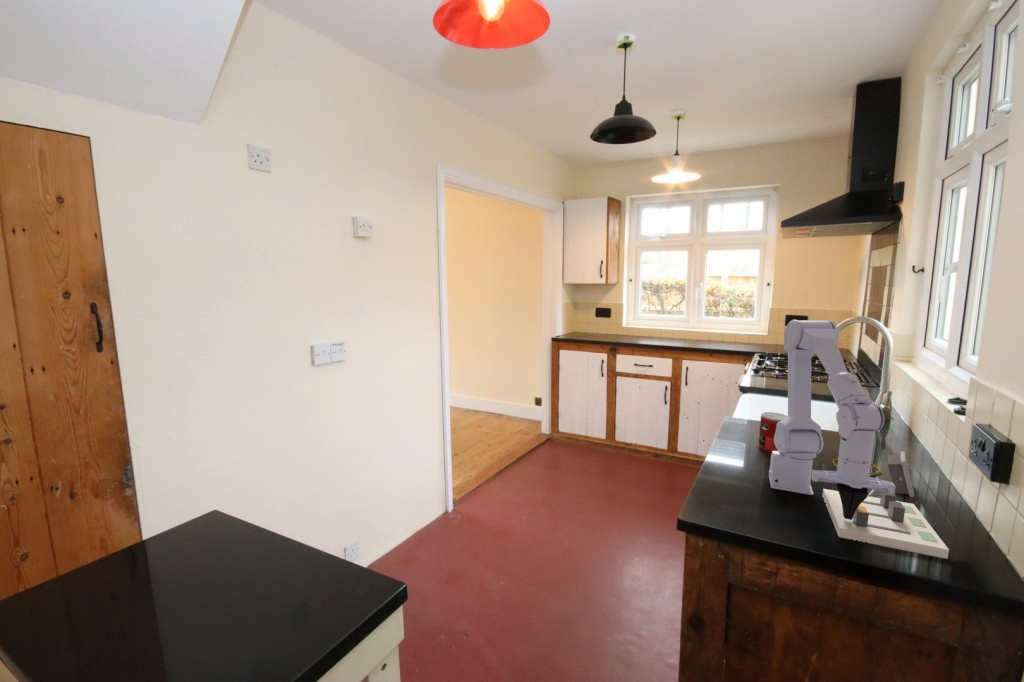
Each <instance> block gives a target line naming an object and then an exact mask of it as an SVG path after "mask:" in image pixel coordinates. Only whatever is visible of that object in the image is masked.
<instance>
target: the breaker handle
mask: <svg viewBox="0 0 1024 682" xmlns="http://www.w3.org/2000/svg"><path fill="white" fill-rule="evenodd" d="M868 517H869V513H868V511H867V510H866V508H865V507H864V506H859V507H858V508H857V510H856V511H855V513H854V515H853V520H854V522H855V524H856V525H859V526H864V527H867V524H868Z"/></svg>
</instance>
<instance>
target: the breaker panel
mask: <svg viewBox="0 0 1024 682" xmlns="http://www.w3.org/2000/svg"><path fill="white" fill-rule="evenodd" d="M880 493H881V494H880V497H875V496H869V495H868V496H867V498H866V499H865V500H864V501H863V502H862V503H861V504H860V505H859V506H864V507H865V508H866V510H867V511H868V513H869V517H868V524H867V527H864V526H859V525H856V524H855V522H854V520H853V518H852V520H850V519H845V518H844V516H843V508H842V502H841V498H840V495H839V492H838V490H834V489H827V488H823V489H822V498H824V499H823V501H824V503H826V504H825V506H826V508H827V511H828V513H829V517H830V518H831V521H832V523H833V525H834V529H835V532H836V533H837V536H838V538H842V539H848V540H851V539H852V541H856V540H857V542H861V541H862V542H861V543H866V542H867V544H870V545H871V544H872V545H875V546H877V545H878V546H881V547H887V548H892V549H896V550H902V551H906V552H911V553H916V554H920V555H921V554H922V555H926V556H932V557H937V558H940V559H946V560H949V559H948V558H949V554H950V553H949V552H950V549H949V548H948V546H947V545H946V543H945V542H944V541H943V540H942V538H940V536H939V535H938V533H937V532H936V531H935V530H934V528H933V527H932V526H931V525H930V523H929V522H928V520H927V519H926V518H925V517H924V516H923V514H922V513H921V511H920V510H919V508H917V507H916V505H915V503H909V502H905V501H898V500H897V494H896V493H894V494H889V493H887V492H883V491H880Z"/></svg>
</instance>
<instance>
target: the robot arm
mask: <svg viewBox="0 0 1024 682" xmlns="http://www.w3.org/2000/svg"><path fill="white" fill-rule="evenodd" d="M839 335H840V331H839V329H838V327H837V325H836V323H835V322H834V321H833V320H831V319H826V320H804V319H803V320H799V319H792V320H790V321H789V322H788V323H787V325H786V326H785V328H784V331H783V343H784V344H783V349H784V352H785V353H787V415H786V416H787V417H786V418H784V419H783V420H781V421H779V422H778V423H777V426H776V432H775V435H774V443H775V446H776V448H777V450H778V451H772V453H771V452H770V453H771V455H770V462H769V463H770V464H769V470H768V478H769V484H770V488H771V489H775V490H780V491H781V490H782V491H787V492H791V493H797V494H804V495H810V496H813V495H814V491H813V487H812V485H811V482H814V483H818V482H823V483H830V484H835V486H836V488H837V491H838V492H839V495H840V498H841V502H842V508H843V516H844V518H845V519H850V520H852V518H853V515H854V513H855V511H856V510H857V508H858V507H859V505H860V504H861V503H862V502H863V501H864V500H865V499H866V498H867V496H869V492H868V490H872V491H878V492H881V491H883V492H887V493H889V494H896V493H895V485H894V483H893V482H892V481H888V480H883V479H878V478H877V477H876V478H875V477H873V476H872V477H871V476H870V475H871V474H870V473H871V468H872V467H871V466H872V464H871V461H873V451H874V445H875V444H874V443H875V438H876V432H878V431H880V430H881V429H883V426H884V425H885V414H884V412H883V408H882V407H881V406H880V405H879V404H877V403H875V402H874V401H873V400H872V398H871V399H870V398H868V396H867V394H866V392H865V390H864V389H863V387H862V385H861V382H860V381H859V379H858V377H857V375H855V374H854V373H851V372H849V371H848V369H847V367H846V364H845V362H844V359H843V356H842V354H841V351H840V349H839V346H838V340H839ZM814 355H816V356H817V358H818V359H819V361H820V362H821V364H822V366H823V368H824V369H825V372H826V373H827V374H828V376H829V379H828V380H827V383H826V384H827V386H828V389H829V391H830V393H831V395H832V397H833V400H834V402H835V404H836V406H837V409H838V410H837V412H835V414H836V422H837V425H838V429H837V430H838V431H837V432H838V435H839V436H840V440H839V441H840V442H839V447H838V448H839V450H838V456H837V459H838V460H837V464H836V465H837V467H836V471H835V470H817V469H813V462H814V458H815V459H816V458H817V455H819V454H820V453H822V451H823V449H824V438H823V436H822V427H821V426H820V424H819V423H818V422H816V421H814V420H813V419H812V358H813V356H814Z"/></svg>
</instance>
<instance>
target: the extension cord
mask: <svg viewBox="0 0 1024 682" xmlns="http://www.w3.org/2000/svg"><path fill="white" fill-rule="evenodd" d="M835 460H836V461H838V458H835V459H833V460H832V464H833V463H834V464H833V466H834V465H835V466H836V467H835V466H834V467H835V468H837V464H836V463H835V462H836V461H835ZM871 468H874V469H875V470H877V472H870V476H869V477H871V476H872V477H873V476H879V475H881V474H882V470H881V469H880V468H879V467H878V466H876V464H874V461H873V460H872V461H871Z"/></svg>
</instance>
